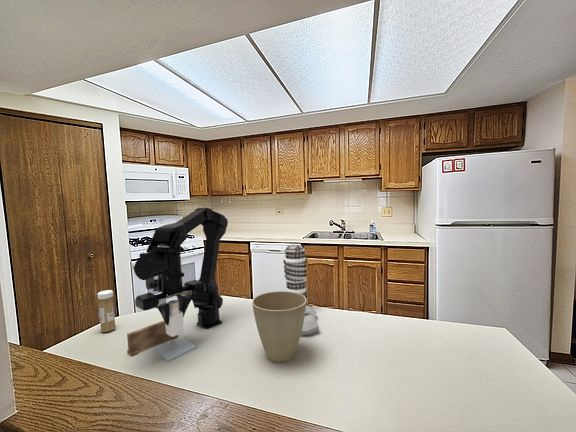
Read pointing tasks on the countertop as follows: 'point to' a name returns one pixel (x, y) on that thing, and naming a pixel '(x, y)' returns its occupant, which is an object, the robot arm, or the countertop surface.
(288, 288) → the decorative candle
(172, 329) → the pepper shaker
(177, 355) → the slate coaster
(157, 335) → the walnut screen
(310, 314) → the rock
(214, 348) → the countertop surface
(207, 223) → the robot arm
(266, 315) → the plant pot
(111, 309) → the spice jar
